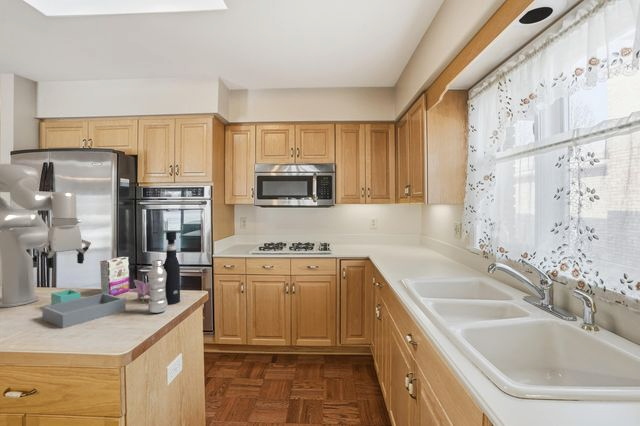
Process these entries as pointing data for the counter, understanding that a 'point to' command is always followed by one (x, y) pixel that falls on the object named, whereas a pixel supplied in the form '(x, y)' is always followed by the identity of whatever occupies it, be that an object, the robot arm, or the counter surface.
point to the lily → (141, 289)
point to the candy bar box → (115, 276)
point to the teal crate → (64, 296)
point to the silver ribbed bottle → (157, 287)
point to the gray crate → (83, 309)
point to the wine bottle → (172, 271)
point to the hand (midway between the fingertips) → (65, 265)
